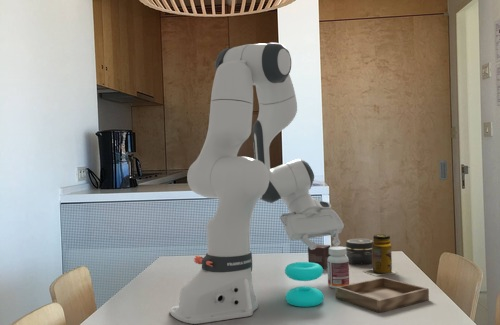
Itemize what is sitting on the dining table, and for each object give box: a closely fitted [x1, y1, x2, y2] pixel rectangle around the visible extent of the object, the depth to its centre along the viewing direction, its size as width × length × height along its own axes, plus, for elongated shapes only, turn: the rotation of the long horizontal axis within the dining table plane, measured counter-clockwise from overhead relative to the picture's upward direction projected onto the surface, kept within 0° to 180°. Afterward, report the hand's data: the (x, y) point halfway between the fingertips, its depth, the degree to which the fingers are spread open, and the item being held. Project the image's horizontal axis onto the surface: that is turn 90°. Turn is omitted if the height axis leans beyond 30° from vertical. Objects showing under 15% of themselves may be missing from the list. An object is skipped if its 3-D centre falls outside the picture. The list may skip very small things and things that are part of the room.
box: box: [307, 243, 332, 270], centre depth 180 cm, size 6×6×7 cm
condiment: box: [363, 233, 398, 277], centre depth 170 cm, size 7×8×12 cm
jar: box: [345, 238, 373, 266], centre depth 186 cm, size 10×10×8 cm
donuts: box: [284, 261, 325, 308], centre depth 139 cm, size 10×10×10 cm
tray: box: [335, 277, 430, 314], centre depth 140 cm, size 18×16×3 cm
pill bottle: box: [327, 245, 350, 289], centre depth 154 cm, size 6×6×11 cm
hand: (326, 246), depth 159 cm, fingers open, 8 cm apart
